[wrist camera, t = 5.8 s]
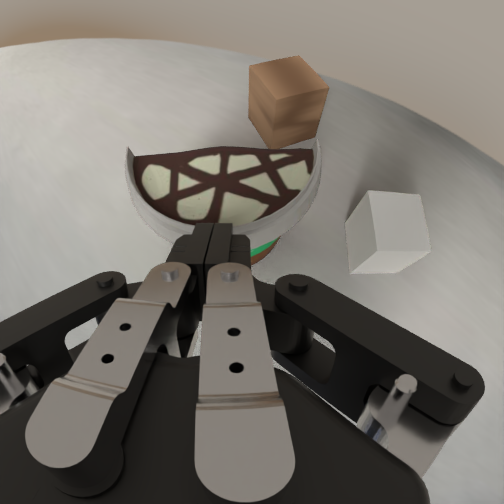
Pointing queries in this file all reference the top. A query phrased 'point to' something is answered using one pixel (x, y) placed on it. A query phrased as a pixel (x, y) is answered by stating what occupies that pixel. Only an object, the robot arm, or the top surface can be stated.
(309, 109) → the walnut block
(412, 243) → the grey plastic block
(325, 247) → the top surface
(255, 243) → the food container
